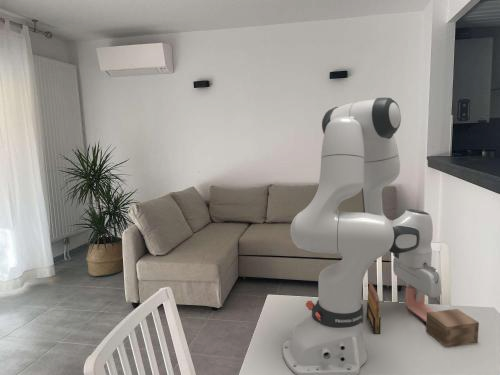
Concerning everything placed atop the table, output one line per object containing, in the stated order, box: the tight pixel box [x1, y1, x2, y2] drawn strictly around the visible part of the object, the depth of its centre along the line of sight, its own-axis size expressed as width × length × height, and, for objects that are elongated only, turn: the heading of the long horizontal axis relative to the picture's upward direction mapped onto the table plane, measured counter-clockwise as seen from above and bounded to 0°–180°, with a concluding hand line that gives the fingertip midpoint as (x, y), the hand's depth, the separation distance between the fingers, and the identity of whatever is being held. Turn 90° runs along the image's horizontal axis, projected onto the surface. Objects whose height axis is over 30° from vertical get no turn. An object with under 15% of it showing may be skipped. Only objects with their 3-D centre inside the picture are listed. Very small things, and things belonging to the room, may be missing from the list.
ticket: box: [404, 286, 436, 323], centre depth 109 cm, size 6×14×7 cm, turn 10°
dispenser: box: [425, 308, 480, 348], centre depth 99 cm, size 10×8×6 cm
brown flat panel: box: [366, 281, 382, 335], centre depth 107 cm, size 11×2×12 cm, turn 173°
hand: (414, 298), depth 115 cm, fingers closed on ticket, 2 cm apart
